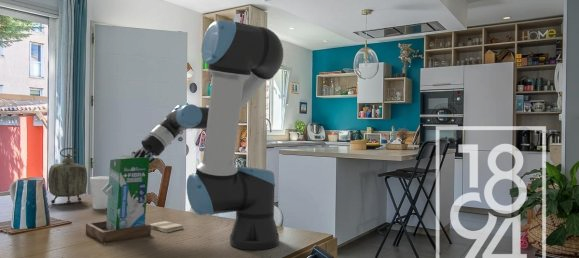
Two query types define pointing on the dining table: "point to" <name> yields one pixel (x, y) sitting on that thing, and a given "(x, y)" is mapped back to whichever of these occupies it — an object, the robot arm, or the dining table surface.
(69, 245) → the dining table surface
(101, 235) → the tray
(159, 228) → the beech board
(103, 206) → the foam cup
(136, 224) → the milk carton
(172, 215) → the dining table surface
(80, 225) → the dining table surface
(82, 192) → the tabletop clock
